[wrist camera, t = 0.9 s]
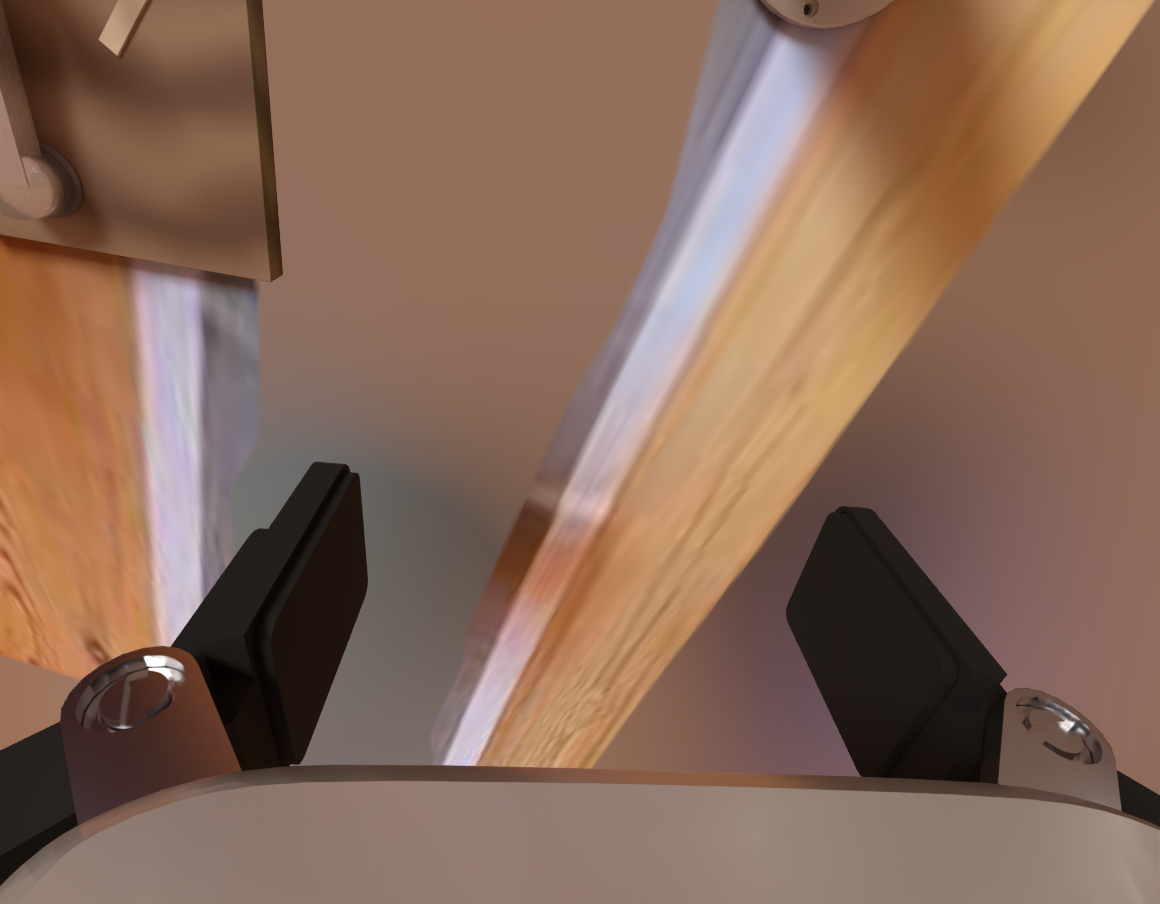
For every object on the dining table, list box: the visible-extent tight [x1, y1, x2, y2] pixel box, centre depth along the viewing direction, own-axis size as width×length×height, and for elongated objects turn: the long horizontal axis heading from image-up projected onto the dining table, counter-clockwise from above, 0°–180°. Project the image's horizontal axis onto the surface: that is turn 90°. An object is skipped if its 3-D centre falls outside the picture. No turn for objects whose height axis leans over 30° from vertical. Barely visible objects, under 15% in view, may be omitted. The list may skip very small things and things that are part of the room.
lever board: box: [0, 0, 283, 282], centre depth 32 cm, size 22×19×2 cm
